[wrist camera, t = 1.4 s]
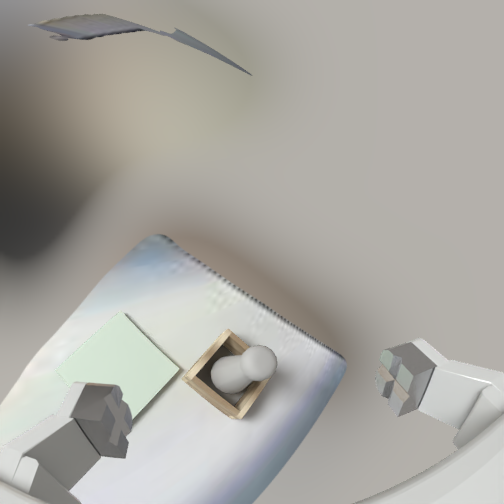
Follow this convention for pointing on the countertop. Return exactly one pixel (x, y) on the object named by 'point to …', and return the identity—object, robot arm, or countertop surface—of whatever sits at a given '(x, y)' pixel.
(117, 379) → the sage mat
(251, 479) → the countertop surface
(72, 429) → the robot arm
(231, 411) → the wooden box
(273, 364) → the salt shaker
